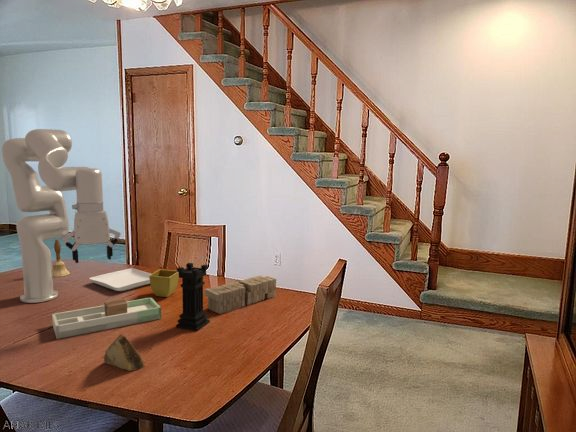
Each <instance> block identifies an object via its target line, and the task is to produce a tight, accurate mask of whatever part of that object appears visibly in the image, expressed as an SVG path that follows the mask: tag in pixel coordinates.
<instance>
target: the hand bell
mask: <svg viewBox="0 0 576 432" xmlns="http://www.w3.org/2000/svg"><path fill="white" fill-rule="evenodd" d="M53 246H54V247H53V248H54V252H55V259H56V261H55V262H53V265H52V266H53V267H52V278H62V277H66V276H69V275H71V273H70V271H69V270H68V269H67V268H66V265H65V262H64V261H62V259H61V250H62V246H61V243H60V240H59V239H55V240H54V245H53Z"/></svg>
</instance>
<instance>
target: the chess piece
mask: <svg viewBox="0 0 576 432" xmlns="http://www.w3.org/2000/svg"><path fill="white" fill-rule="evenodd" d="M208 269H209V266H208V264H202V265H201V266H200V267H196V266H194V263H193V262H188V263H186V265H185V267H183V266H178V267H177V268H176V271H177V272H179V277H178V279H179V278H180V279H181V281H182V283H181V284H180V288H182V313H181V314H179V317H178V318H179V319H177V324H175V328H177V329H181V330H182V329H183V330H188V331H193V332H194V331H195V332H198V331H200V330H202V329H203V327H205V326H207V325H208V324H210V321H211V320H210V319H209V316H208V314H207V310H206V311H205V310H204V285H205V283H206V282H205V281H204V277H206V276H207V270H208Z"/></svg>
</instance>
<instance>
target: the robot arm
mask: <svg viewBox="0 0 576 432" xmlns="http://www.w3.org/2000/svg"><path fill="white" fill-rule="evenodd" d="M72 141H73V140H72V138H71V136H70V134H69V133H68V132H66V131H65V130H63V129H52V128H51V129H48V128H36V129H32V130H29V131H28V132H27V133H26V135H25V136H24V137H22V138H21V137H16V138H15V137H14V138H9V139H7V140H5V141H4V142H3V143H2V146H1V156H2V160H3V162H4V165H5V167H6V170H7V172H8V173H9V175H10V179H11V182H12V188H13V193H14V197H15V198H14V199H15V202H16V205H17V208H18V210H19V211H20V212H22V213H37V212H38V213H39V212H47V211H48V213H45V214H36V215H29V216H25V217H22V218H20V219H19V220H18V221H17V222H16V232H17V237H18V240H19V245H20V250H21V251H20V252H21V261H22V262H21V263H22V265H21V266H22V274H23V275H22V276H23V289H24V290H23V291H24V293H22V294H21V295H20V296H19V300H20V301H21V302H22V303H29V304H33V303H34V304H35V303H42V302H43V303H44V302H47V301H52V300H54V299H55V298H57V297H58V296H59V291H58V290H56V289H54V281H53V277H52V270H53V267H52V266H53V265H52V253H51V250H50V248H49V246H47V244H45V243H44V241H47V240H53V239H58V238H61V240H62V242H63V243H64V245H65V246H66V247H68V248H69V249H70V250H71V251H72V254H71V255H72V261H74V262H75V264H78V263H79V251H78V248H79V247H80V246H85V245H88V246H89V245H97V244H98V245H99V244H106V257H107V259H108V260H112V257H113V255H114V254H113V247H114V246H115V245H116V244H117V243H118V241H119V239H120V237H121V232H119V231H117V230H114V229H112V228H111V227H110V224H109V219H108V214H107V211H105V210H104V199H103V198H104V197H103V196H104V195H103V194H104V193H103V178H102V177H103V175H102V172H101V170H100V169H99V168H93V167H92V168H91V167H88V166H64V165H65V164H66V163H67V161H68V158H69V152H70V151H71V150H72V145H73V142H72ZM27 162H38V165H37V170H38V173H37V172H36V170H35V169H34V168H33V167H32V166H31V165H30V164H28V163H27ZM38 175H39V176H38ZM39 177H40V180H41V181H42V182H43V183H44V184H45V185H41V184H40V181H39ZM68 191H75V192H76V204H72V205H71V209H72V210H76V211H75V213H74V219H73V221H74V222H73V230H72V231H70V223H69V218H68V211H67V206H66V202H65V197H64V195H63V192H68ZM111 234H112V235H114V237H113V238H112V239H111ZM72 237H73V239H74V242H73V243H71V242H70V241H69V239H70V238H72Z"/></svg>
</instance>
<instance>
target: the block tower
mask: <svg viewBox="0 0 576 432" xmlns="http://www.w3.org/2000/svg"><path fill="white" fill-rule="evenodd" d="M276 290H277V278H275V277H271V276H269V275H266V276H264V275H257V276H253V277H249V278H246V279H242V280H241V279H240V280H239V281H238V282H237V281H233V282H230V283H225V284H222V285H219V286H214V287H211V288H205V289H204V297H206V298H207V309H208V310H210V311H212V312H215V313H217V314H224V313H225V312H226V313H228V312H232V311H234V309H235V310H237V308H238V309H240V308H243V306H244V307H245V306H249V304H250V305H253V304H256V303H259V302H262V301H261V300H263V301H265V300H264V299H266V298H269V299H272V298H276V296H277V295H276V292H277V291H276ZM271 297H272V298H271ZM258 301H259V302H258ZM255 302H256V303H255ZM252 303H253V304H252ZM246 304H247V305H246ZM239 307H240V308H239ZM231 310H232V311H231Z"/></svg>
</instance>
